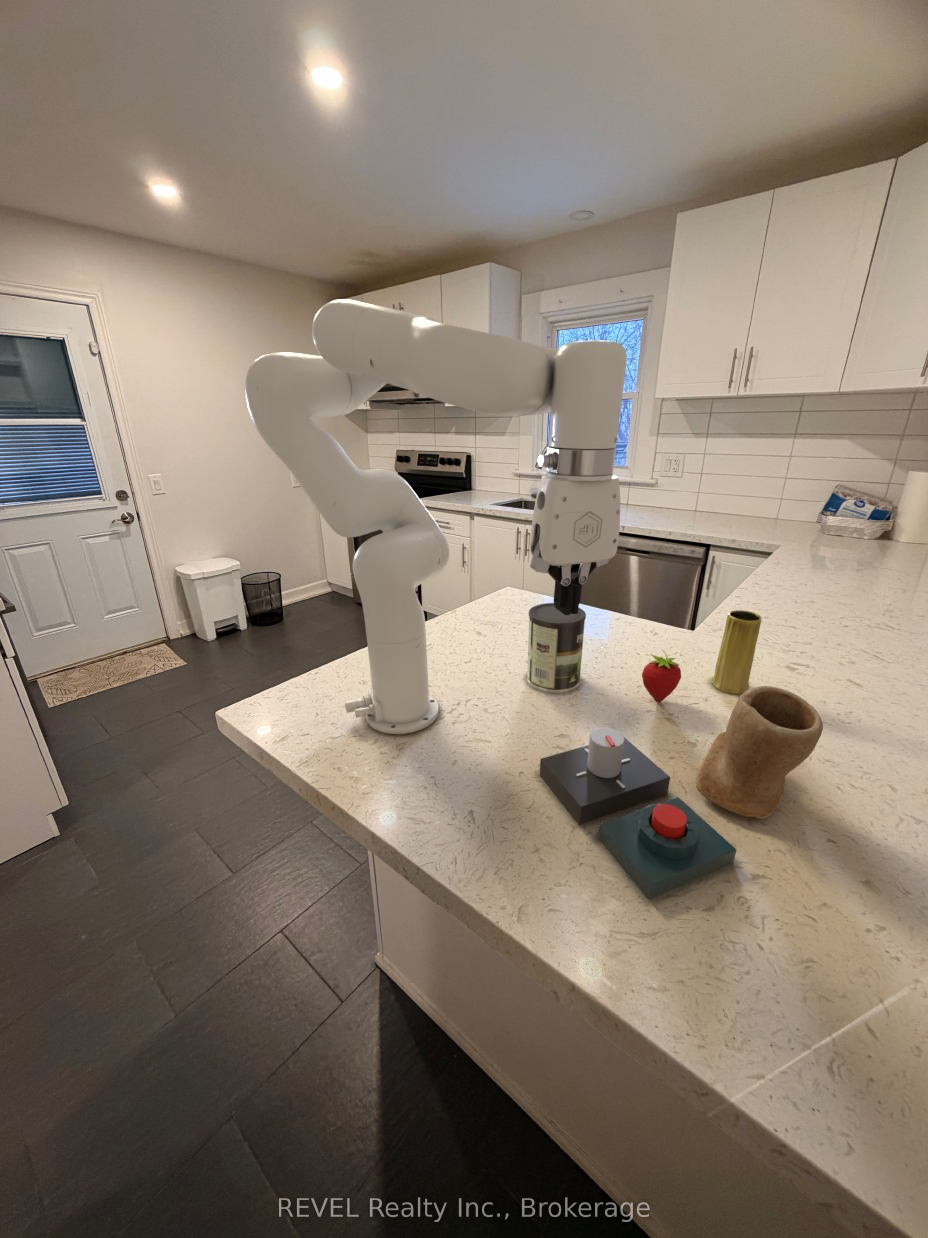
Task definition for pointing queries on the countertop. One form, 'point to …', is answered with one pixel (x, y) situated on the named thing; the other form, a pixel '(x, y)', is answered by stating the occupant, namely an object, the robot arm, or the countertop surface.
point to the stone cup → (758, 751)
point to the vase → (737, 652)
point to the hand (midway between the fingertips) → (565, 610)
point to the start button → (668, 821)
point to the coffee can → (554, 648)
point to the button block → (665, 849)
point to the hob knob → (605, 752)
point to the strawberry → (661, 677)
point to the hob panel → (602, 783)
